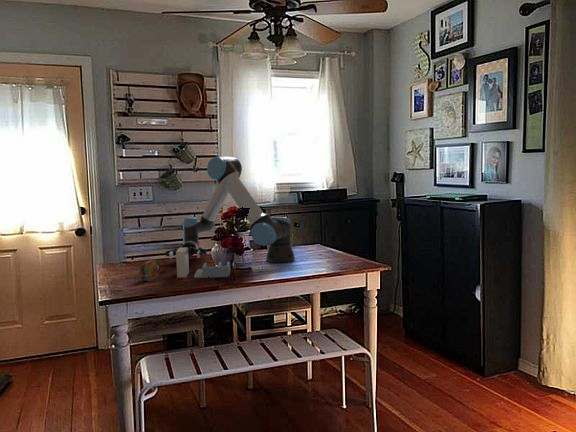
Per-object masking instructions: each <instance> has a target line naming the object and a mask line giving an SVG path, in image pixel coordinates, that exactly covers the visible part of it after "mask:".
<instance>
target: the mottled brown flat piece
mask: <svg viewBox="0 0 576 432" xmlns="http://www.w3.org/2000/svg"><path fill="white" fill-rule="evenodd" d="M160 272H161V265H160V262H159V260H157V259H151V260H148V261H145V262H143V263H142V264H141V265H140V267H139V274H140V275H139V276H140V279H141V280H142V282H151V281H153V280H154V279H156V278H158V277H159V275H160Z"/></svg>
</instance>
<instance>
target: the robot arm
mask: <svg viewBox="0 0 576 432" xmlns="http://www.w3.org/2000/svg"><path fill="white" fill-rule="evenodd" d="M206 167H207V168H206V172H207V174H208V177H209V178H211V179H212V180H214V181H215V180H216V182H217V183H218V184H217V186H216V188H215V189H214V192H213V194H212V196H211V198H210V200H209V201H208V203H207V205H206V207H205V209H204V210H203V211H204V212H203V213H202V215H201V216H200V218H199V219H198V217H196V216H189V217H184V218H183V237H184V243H183V244H182V246H181V248H186V247H188V258H189V257H193V256H194V255H197V257H196V258H197V259H199V258H200V257H201V256H206V255H207V249H204V248H202V247H200V241H199V234H200V233H205V232H209V231H211V230H213V229H214V228H215V225H216V223H215V220H216V218H217V216H218V215H219V213H220V210H221V209H222V208H223V206H224V203H225V202H226V200H227V197H228V196H229V195H230V196H231V197H232V199H233V200H234V202H235V203H236V205H237V207H238V208H239V209H240V208H242V207H243V208H250V209H249V213H248V214H247V215H248V216H247V218H246V219H247V221H248V223H249V229H250V232H251V236H250V237H251V238H252V240H253V242H254V243H256V244H257V245H259V246H263V247H264V246H268V249H267V253H266V257H265V259H266V262H269V263H276V264H277V263H279V264H280V263H289V262H290V263H291V262H293V261H294V260H295V259H296V258H295V253H294V251H293V247H292V240H291V239H292V235H291V234H292V233H291V231H292V230H291V225H292V224H291V219H290V218H289V217H278V216H275V217H273V216H270V215H269V214H268V213H264V212H263V210H262V209H261V207H260V206H259V204H258V203H257V202H256V201H255V199H254V197H253V196H252V195H251V193H250V191H248V189H247V187H246V186H245V185H244V183H243V181H242V180H241V179H240V177H241V175H242V171H243V169H242V168H243V166H242V163H241V161H240V160H239V159H238V158H237V157H234V156H220V155H219V156H214V157H212V158H211V159H210V160H209V161H208V162H207V165H206ZM178 249H179V248H177V247H175V248H172V249H169V250H166V251H165V257H168V258H169V260H171V259H173V257H174V256H175V257H176V251H177V250H178Z"/></svg>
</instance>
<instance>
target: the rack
mask: <svg viewBox="0 0 576 432" xmlns="http://www.w3.org/2000/svg"><path fill="white" fill-rule="evenodd" d="M230 263H231V262H230V261H227V263H226V265H224V266H223V265H222V262H221V261H219V262H218V264H217V266H207V262H204V263H203V265H202V268H197V269H196V272H195V274H194V276H193V278H194V279H204V278H205V279H207V278H208V277H209V278H228V277H229V278H230V273H231V265H230Z"/></svg>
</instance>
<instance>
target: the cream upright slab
mask: <svg viewBox="0 0 576 432" xmlns="http://www.w3.org/2000/svg"><path fill="white" fill-rule="evenodd" d="M177 249H178V250H177V251H176V255H175V257H176V258H175V259H176V261H175V263H176V278H187V276H188V274H189V273H190V265H189V262H190V261H189V259H190V258H189V257H188V247H186V248H182V247H179V248H177Z"/></svg>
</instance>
